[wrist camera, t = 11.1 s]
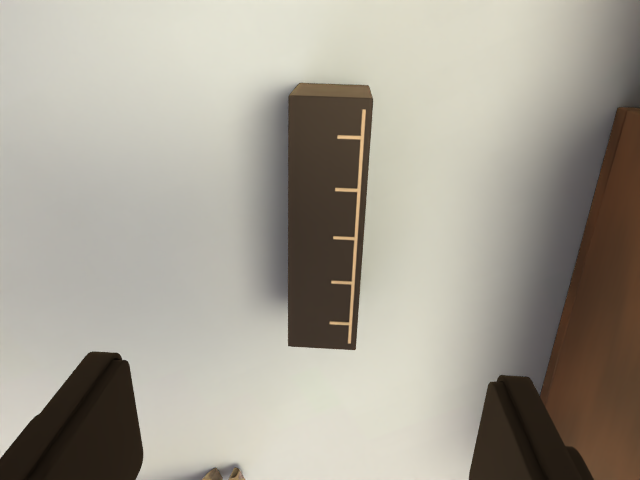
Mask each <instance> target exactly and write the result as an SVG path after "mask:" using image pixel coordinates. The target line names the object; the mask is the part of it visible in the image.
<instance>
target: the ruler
mask: <svg viewBox="0 0 640 480" xmlns="http://www.w3.org/2000/svg"><path fill="white" fill-rule="evenodd" d="M372 109H373V97H372V94H371V91H370V88H369V86H368V85H343V84H315V83H299V84H298V85H297V87H296V88H295V89H294V90H293V91H292V92H291V94H290V95H289V124H288V346H292V347H309V348H327V349H345V350H355V349H356V338H357V323H358V309H359V295H360V280H361V266H362V252H363V238H364V223H365V209H366V195H367V180H368V166H369V152H370V138H371V123H372Z"/></svg>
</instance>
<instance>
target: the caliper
mask: <svg viewBox="0 0 640 480" xmlns="http://www.w3.org/2000/svg"><path fill="white" fill-rule="evenodd" d="M222 479H223V478H222V476H221V475H220V473H219V471H218V469H217V468H214V469H213V470H211V471H210V472H209V473H207V474H206V476H205V477H204V478H203V479H202V480H222ZM228 480H245V478H244V477H243V475H242V473H241V471H240V470H239V469H238V468H235V467H234V469H233V471H232V473H231V475H230V477H229V479H228Z"/></svg>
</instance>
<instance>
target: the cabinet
mask: <svg viewBox="0 0 640 480" xmlns="http://www.w3.org/2000/svg"><path fill="white" fill-rule="evenodd" d="M540 398H541V400H542V402H543V404H544V406H545V407H546V409H547V411H548V413H549V415H550V417H551V419H552V421H553V423H554V425H555V427H556V429H557V431H558V433H559V435H560V437H561V439H562V441H563V443H564V445H565V446H572V447H574V448H575V449H576V450H578V452H579V453H580V455H581V456H582V458H583V460H584V462H585V463H586V465H587V467H588V469H589V471H590V473H591V475H592V476H593V478H594V480H640V108H630V107H619V108H618V109H617V112H616V116H615V119H614V123H613V127H612V131H611V134H610V138H609V142H608V145H607V149H606V153H605V157H604V160H603V164H602V168H601V171H600V175H599V179H598V183H597V186H596V190H595V194H594V197H593V201H592V205H591V209H590V212H589V216H588V220H587V223H586V227H585V231H584V235H583V238H582V242H581V246H580V249H579V253H578V257H577V261H576V264H575V268H574V272H573V275H572V279H571V283H570V287H569V290H568V294H567V298H566V301H565V305H564V309H563V313H562V316H561V320H560V324H559V327H558V331H557V335H556V339H555V342H554V346H553V350H552V353H551V357H550V361H549V365H548V368H547V372H546V376H545V379H544V383H543V387H542V391H541V394H540Z"/></svg>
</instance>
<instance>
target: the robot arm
mask: <svg viewBox="0 0 640 480" xmlns="http://www.w3.org/2000/svg"><path fill="white" fill-rule="evenodd" d="M142 461H143V447H142V441H141V434H140V428H139V422H138V416H137V410H136V403H135V397H134V391H133V385H132V379H131V372H130V366H129V363H128V361H126V360H122V358H121V356H120V354H118V353H110V352H93V351H92V352H90V353H88V354H87V355H86V356H85V358H84V359H83V360H82V361H81V363H80V364H79V365H78V366H77V368H76V369H75V370H74V371H73V373H72V374H71V375H70V376H69V378H68V379H67V380H66V382H65V383H64V384H63V385H62V387H61V388H60V389H59V390H58V392H57V393H56V394H55V395H54V397H53V398H52V399H51V400H50V402H49V403H48V404H47V405H46V407H45V408H44V409H43V410H42V412H41V413H40V414H39V415H37V416H35V417H34V418H33V419H32V420H31V421H30V422H29V424H28V425H27V426H26V427H25V429H24V430H23V431H22V432H21V434H20V435H19V436H18V437H17V439H16V440H15V441H14V442H13V444H12V445H11V446H10V447H9V449H8V450H7V451H6V452H5V453H4V455H3V456H2V457H1V458H0V480H136V477H137V475H138V473H139V471H140V469H141V465H142ZM469 480H594V478H593V476H592V475H591V473H590V471H589V469H588V467H587V465H586V463H585V462H584V460H583V458H582V456H581V455H580V453H579V452H578V450H576V449H575V448H574V447H572V446H565V445H564V443H563V441H562V439H561V437H560V435H559V433H558V431H557V429H556V427H555V425H554V423H553V421H552V419H551V417H550V415H549V413H548V411H547V409H546V407H545V406H544V404H543V402H542V400H541V398H540V396H539V394H538V392H537V390H536V388H535V386H534V384H533V382H532V381H531V379H530V378H529V377H523V376H506V375H501V376H499V377H498V379H497V382H490V383H489V385H488V388H487V393H486V398H485V402H484V407H483V412H482V417H481V421H480V426H479V431H478V435H477V440H476V445H475V450H474V454H473V459H472V464H471V469H470V474H469Z"/></svg>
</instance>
